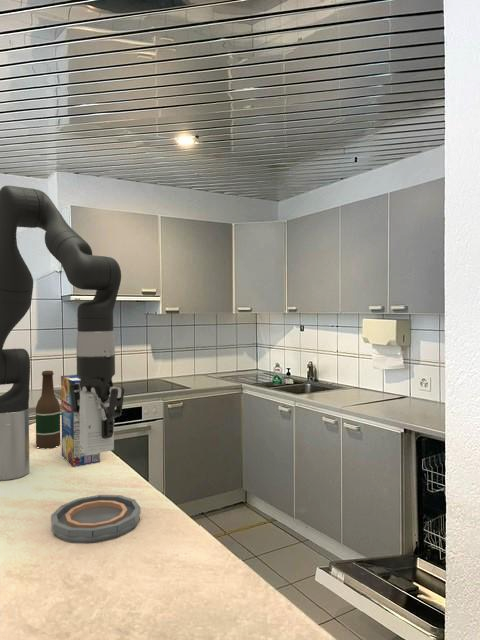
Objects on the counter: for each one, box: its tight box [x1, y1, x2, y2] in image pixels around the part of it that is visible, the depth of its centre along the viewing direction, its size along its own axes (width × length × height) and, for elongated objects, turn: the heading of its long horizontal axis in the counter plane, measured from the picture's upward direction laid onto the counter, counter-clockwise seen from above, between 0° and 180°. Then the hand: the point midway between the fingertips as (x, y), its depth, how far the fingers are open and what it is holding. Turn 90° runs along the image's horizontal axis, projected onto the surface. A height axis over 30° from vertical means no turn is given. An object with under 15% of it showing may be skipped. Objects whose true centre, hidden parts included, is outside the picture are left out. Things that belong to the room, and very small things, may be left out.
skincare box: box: [80, 391, 115, 455], centre depth 98 cm, size 6×4×12 cm
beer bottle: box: [35, 370, 61, 449], centre depth 153 cm, size 8×8×24 cm
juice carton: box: [60, 374, 101, 468], centre depth 139 cm, size 12×8×24 cm, turn 35°
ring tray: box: [50, 494, 142, 544], centre depth 98 cm, size 17×17×2 cm
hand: (96, 435), depth 98 cm, fingers closed on skincare box, 5 cm apart
